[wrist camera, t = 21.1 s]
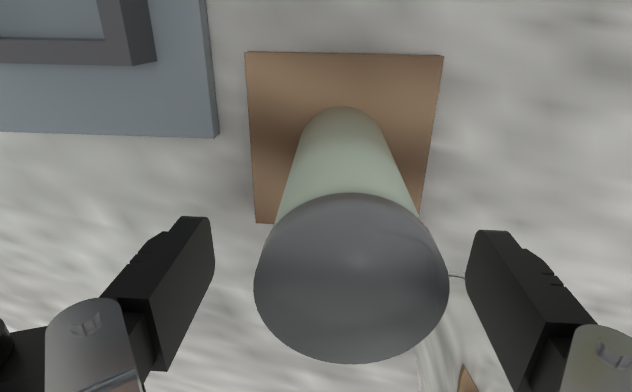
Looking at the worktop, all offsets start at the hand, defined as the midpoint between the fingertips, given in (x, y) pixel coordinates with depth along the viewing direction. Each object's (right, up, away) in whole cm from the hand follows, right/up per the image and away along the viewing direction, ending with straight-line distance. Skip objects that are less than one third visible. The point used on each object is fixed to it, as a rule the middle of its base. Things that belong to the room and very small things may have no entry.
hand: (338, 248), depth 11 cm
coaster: (+1, +5, +10) cm, 11 cm away
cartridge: (+1, +4, +9) cm, 10 cm away
